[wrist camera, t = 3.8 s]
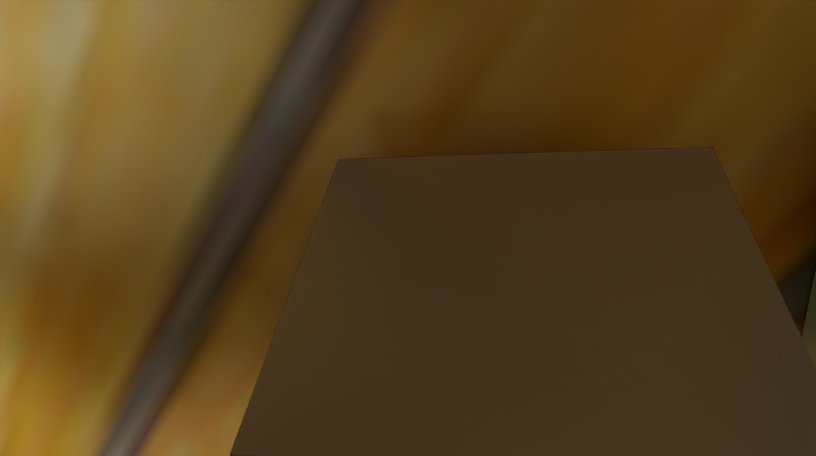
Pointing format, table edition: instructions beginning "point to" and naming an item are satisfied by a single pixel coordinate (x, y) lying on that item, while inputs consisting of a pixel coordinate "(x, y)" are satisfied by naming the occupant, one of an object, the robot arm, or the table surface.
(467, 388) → the plug
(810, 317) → the board
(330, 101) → the table surface
